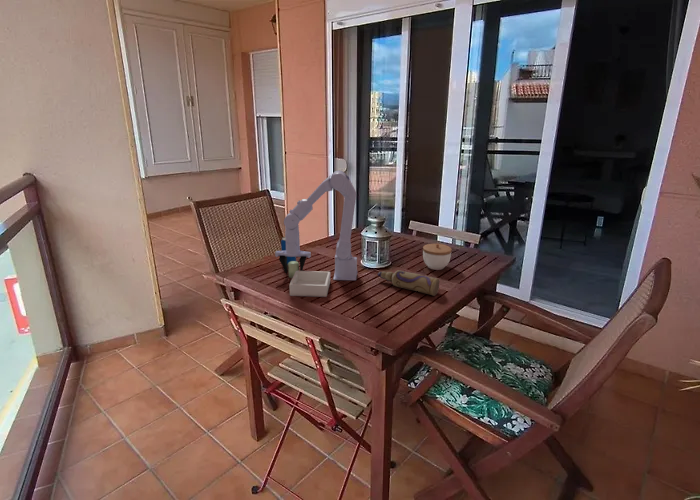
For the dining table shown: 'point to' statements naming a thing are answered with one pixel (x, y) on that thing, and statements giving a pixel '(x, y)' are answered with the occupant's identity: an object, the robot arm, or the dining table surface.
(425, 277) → the decorative bottle
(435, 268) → the lidded bowl
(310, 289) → the bin
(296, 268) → the green cylinder
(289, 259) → the beverage can
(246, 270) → the dining table surface
